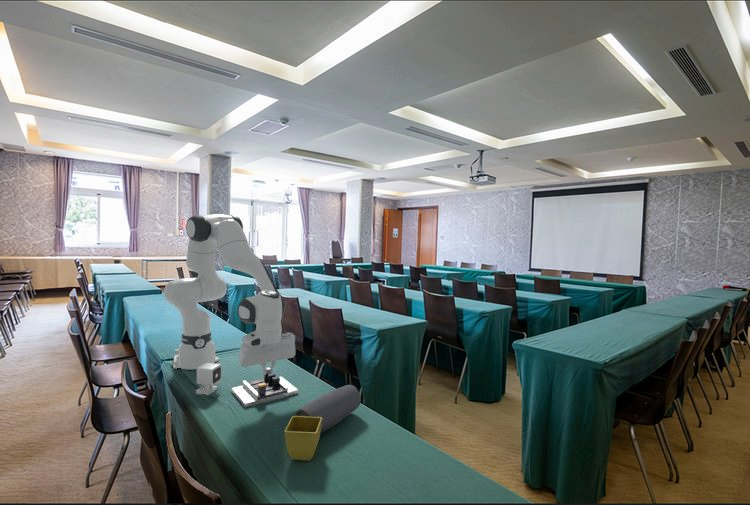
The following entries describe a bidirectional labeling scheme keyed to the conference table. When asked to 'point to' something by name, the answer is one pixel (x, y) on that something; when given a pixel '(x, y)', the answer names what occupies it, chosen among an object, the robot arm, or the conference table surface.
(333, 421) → the bluetooth speaker
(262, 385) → the handle
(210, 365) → the security camera
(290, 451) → the flower pot
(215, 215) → the robot arm
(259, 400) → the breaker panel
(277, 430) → the conference table surface
